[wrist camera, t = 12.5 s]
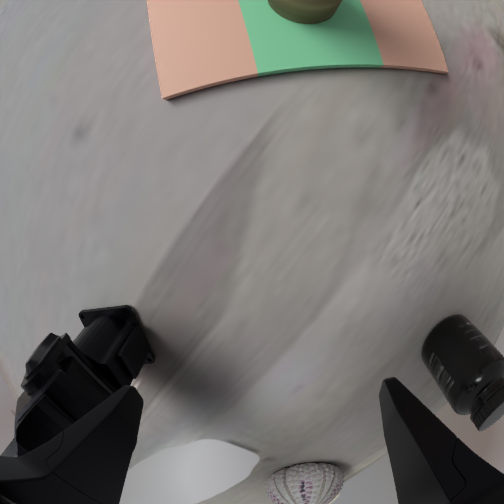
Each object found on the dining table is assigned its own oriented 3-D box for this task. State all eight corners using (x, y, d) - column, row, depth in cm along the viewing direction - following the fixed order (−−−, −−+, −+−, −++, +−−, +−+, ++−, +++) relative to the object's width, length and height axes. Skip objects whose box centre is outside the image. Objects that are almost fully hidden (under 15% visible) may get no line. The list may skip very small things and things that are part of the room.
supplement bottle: (445, 363, 24) (488, 433, 13) (408, 360, 24) (453, 446, 12) (475, 316, 22) (534, 381, 10) (442, 306, 21) (509, 387, 10)
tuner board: (165, 100, 16) (162, 98, 15) (148, -14, 12) (144, -19, 11) (443, 73, 14) (448, 72, 13) (397, -32, 10) (400, -36, 9)
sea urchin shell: (250, 479, 35) (249, 515, 27) (294, 453, 30) (298, 498, 23) (310, 485, 37) (313, 517, 29) (358, 459, 32) (366, 496, 25)
